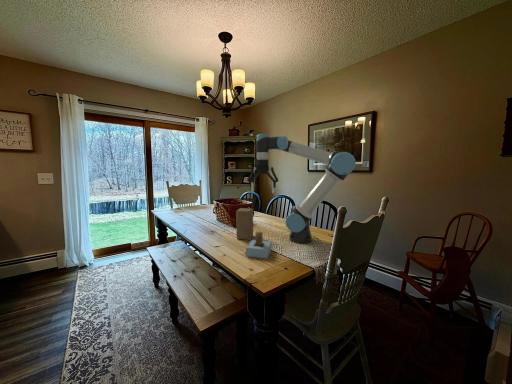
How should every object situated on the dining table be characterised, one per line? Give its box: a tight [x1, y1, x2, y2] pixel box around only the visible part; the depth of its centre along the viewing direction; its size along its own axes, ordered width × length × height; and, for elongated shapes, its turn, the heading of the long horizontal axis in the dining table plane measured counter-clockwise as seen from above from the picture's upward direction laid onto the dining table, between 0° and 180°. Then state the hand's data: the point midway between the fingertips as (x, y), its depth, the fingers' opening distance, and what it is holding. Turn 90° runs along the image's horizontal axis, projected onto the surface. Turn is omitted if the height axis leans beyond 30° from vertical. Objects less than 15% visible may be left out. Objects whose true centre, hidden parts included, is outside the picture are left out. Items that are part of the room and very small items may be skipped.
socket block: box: [245, 239, 272, 259], centre depth 118 cm, size 12×12×5 cm
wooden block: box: [235, 207, 254, 241], centre depth 143 cm, size 10×10×20 cm
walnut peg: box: [255, 231, 264, 247], centre depth 118 cm, size 4×4×12 cm
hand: (262, 192), depth 132 cm, fingers open, 13 cm apart
